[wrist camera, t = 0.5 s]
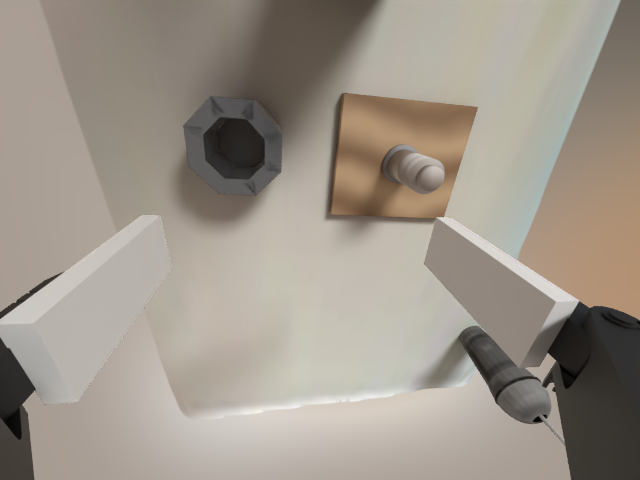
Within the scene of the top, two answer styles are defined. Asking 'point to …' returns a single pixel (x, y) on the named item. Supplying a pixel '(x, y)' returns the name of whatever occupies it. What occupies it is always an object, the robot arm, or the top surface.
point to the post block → (397, 156)
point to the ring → (213, 164)
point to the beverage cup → (508, 380)
